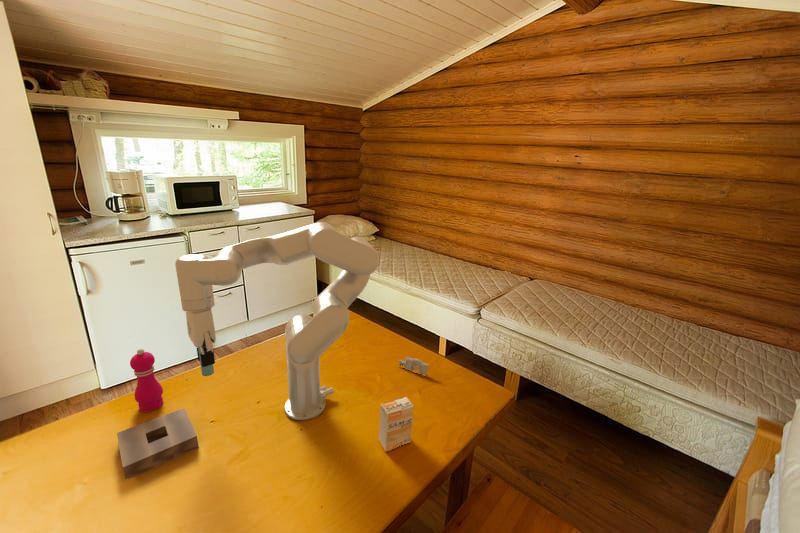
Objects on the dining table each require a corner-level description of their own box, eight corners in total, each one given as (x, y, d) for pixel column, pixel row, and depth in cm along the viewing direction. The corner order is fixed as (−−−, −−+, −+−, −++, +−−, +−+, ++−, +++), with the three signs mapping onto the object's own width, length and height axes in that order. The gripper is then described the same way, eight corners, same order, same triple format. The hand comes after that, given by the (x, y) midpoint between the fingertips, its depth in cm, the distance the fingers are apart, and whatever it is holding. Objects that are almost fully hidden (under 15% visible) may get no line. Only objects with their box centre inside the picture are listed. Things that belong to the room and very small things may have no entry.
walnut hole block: (186, 418, 107) (184, 407, 105) (198, 447, 97) (196, 435, 96) (119, 444, 96) (116, 433, 95) (125, 480, 87) (122, 467, 85)
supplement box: (385, 453, 98) (387, 414, 94) (378, 441, 102) (379, 403, 98) (411, 443, 102) (414, 405, 98) (403, 432, 106) (406, 395, 102)
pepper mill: (151, 415, 107) (139, 357, 101) (131, 411, 109) (118, 353, 102) (170, 399, 114) (160, 344, 108) (151, 396, 115) (140, 341, 109)
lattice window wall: (398, 367, 137) (398, 354, 136) (400, 365, 139) (401, 352, 137) (426, 377, 132) (427, 364, 130) (428, 375, 133) (429, 361, 132)
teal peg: (212, 368, 102) (207, 334, 99) (215, 373, 100) (210, 338, 97) (200, 372, 100) (195, 337, 97) (203, 377, 98) (198, 342, 95)
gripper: (175, 294, 97) (184, 353, 103) (189, 316, 85) (199, 381, 91) (205, 288, 102) (212, 345, 107) (222, 308, 90) (230, 370, 96)
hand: (206, 361), depth 99 cm, fingers closed on teal peg, 3 cm apart
